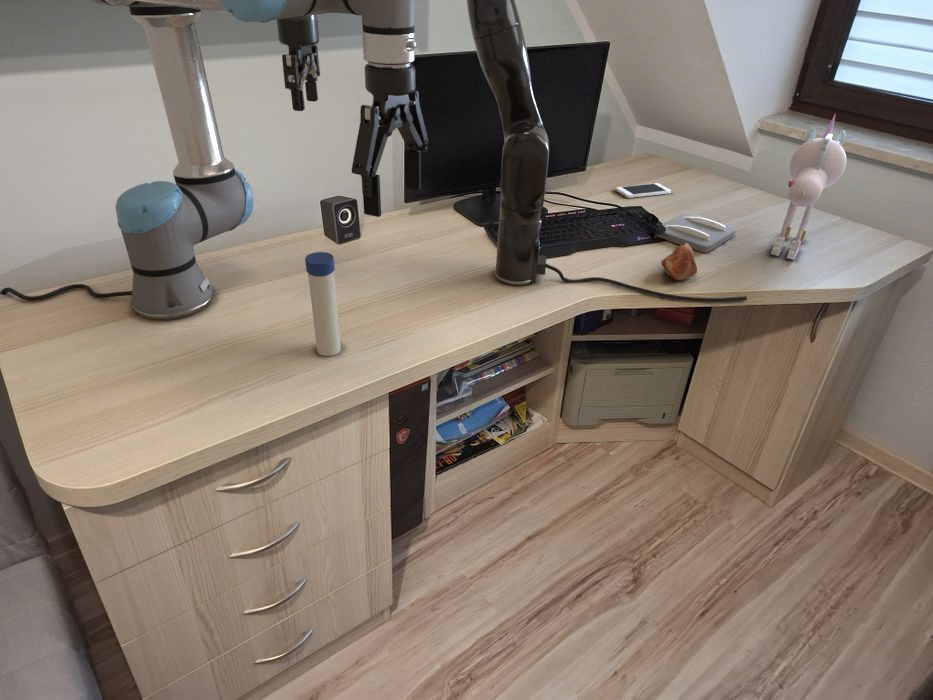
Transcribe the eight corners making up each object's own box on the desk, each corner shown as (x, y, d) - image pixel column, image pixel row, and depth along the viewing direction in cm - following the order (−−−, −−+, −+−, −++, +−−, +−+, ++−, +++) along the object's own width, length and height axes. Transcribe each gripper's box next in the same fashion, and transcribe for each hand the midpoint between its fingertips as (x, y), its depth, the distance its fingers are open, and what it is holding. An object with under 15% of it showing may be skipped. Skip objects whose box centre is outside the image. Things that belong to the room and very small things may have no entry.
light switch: (708, 241, 156) (653, 223, 165) (705, 253, 158) (650, 234, 167) (740, 223, 167) (687, 206, 176) (737, 234, 169) (684, 217, 178)
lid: (324, 278, 106) (323, 266, 105) (300, 272, 108) (299, 260, 106) (340, 267, 110) (339, 255, 108) (316, 261, 111) (315, 249, 110)
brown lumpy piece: (670, 275, 139) (676, 230, 139) (641, 277, 146) (647, 234, 147) (708, 285, 146) (713, 242, 146) (678, 286, 153) (683, 245, 153)
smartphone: (614, 190, 195) (615, 187, 194) (657, 185, 199) (658, 182, 199) (627, 198, 189) (628, 195, 189) (671, 193, 194) (671, 190, 193)
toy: (826, 222, 178) (867, 110, 161) (806, 269, 152) (852, 142, 135) (779, 212, 183) (814, 103, 167) (751, 256, 157) (789, 132, 141)
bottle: (332, 358, 115) (323, 267, 105) (312, 352, 117) (301, 262, 107) (345, 346, 119) (337, 257, 109) (325, 341, 120) (316, 253, 110)
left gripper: (367, 80, 83) (374, 232, 95) (448, 54, 103) (446, 182, 114) (319, 74, 86) (332, 222, 98) (407, 49, 105) (409, 176, 117)
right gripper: (303, 21, 114) (313, 115, 123) (327, 12, 125) (334, 99, 134) (263, 19, 114) (275, 113, 123) (290, 10, 126) (299, 96, 135)
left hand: (393, 201), depth 106 cm, fingers open, 13 cm apart
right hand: (306, 105), depth 129 cm, fingers open, 8 cm apart
